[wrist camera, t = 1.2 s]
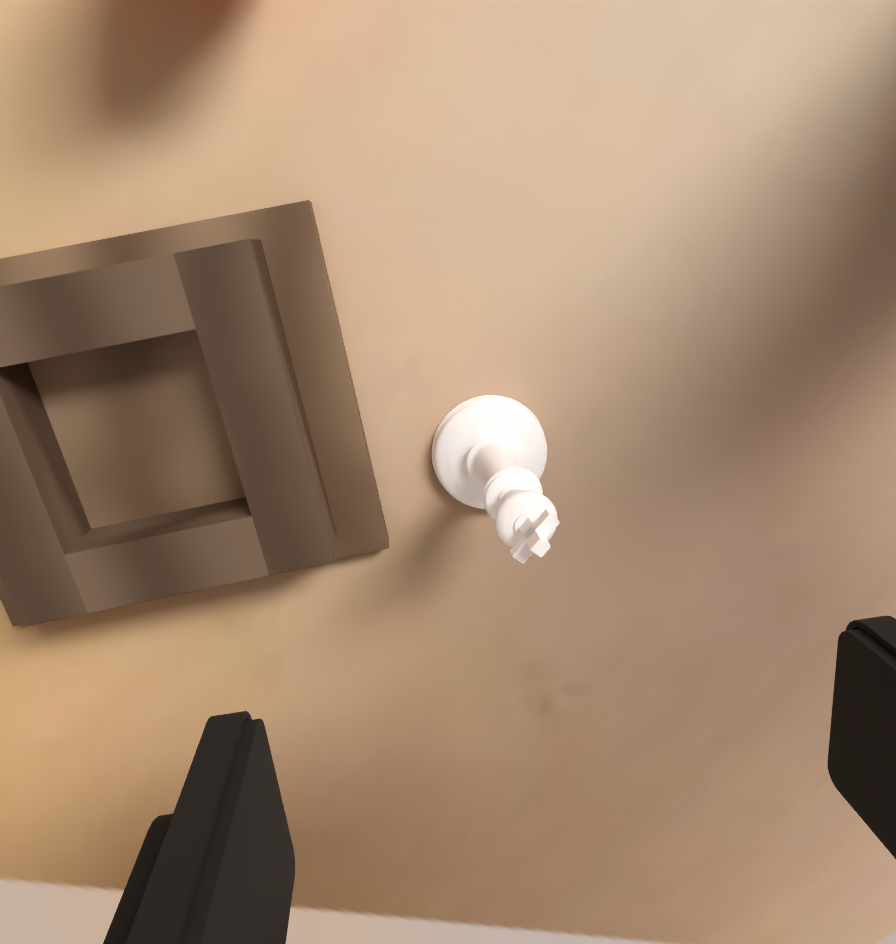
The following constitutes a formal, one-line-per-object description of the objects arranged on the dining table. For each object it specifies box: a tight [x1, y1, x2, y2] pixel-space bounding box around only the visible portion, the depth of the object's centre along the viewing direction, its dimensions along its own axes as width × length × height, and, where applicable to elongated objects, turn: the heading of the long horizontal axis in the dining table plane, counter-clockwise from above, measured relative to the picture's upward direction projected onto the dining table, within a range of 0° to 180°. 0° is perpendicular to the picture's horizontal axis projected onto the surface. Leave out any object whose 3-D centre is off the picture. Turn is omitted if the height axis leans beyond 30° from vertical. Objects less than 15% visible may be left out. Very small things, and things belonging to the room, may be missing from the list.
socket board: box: [0, 200, 389, 627], centre depth 26 cm, size 16×14×4 cm
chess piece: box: [431, 395, 560, 564], centre depth 25 cm, size 5×5×10 cm
